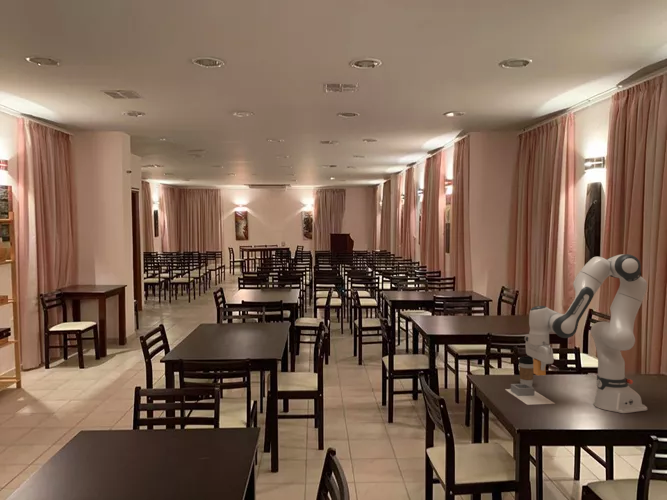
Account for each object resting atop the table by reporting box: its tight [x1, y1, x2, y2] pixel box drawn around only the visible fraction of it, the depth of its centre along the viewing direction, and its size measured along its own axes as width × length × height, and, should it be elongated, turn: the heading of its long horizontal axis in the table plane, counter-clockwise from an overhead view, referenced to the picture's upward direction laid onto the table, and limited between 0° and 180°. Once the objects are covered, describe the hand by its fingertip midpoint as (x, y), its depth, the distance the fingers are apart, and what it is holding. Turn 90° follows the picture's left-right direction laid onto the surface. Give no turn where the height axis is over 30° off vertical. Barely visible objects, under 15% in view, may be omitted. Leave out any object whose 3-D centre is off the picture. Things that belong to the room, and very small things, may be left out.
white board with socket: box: [504, 383, 556, 406], centre depth 258 cm, size 14×24×4 cm, turn 6°
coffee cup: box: [517, 356, 535, 387], centre depth 280 cm, size 8×8×15 cm
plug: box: [533, 359, 547, 377], centre depth 251 cm, size 4×4×9 cm
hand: (539, 368), depth 251 cm, fingers closed on plug, 4 cm apart
